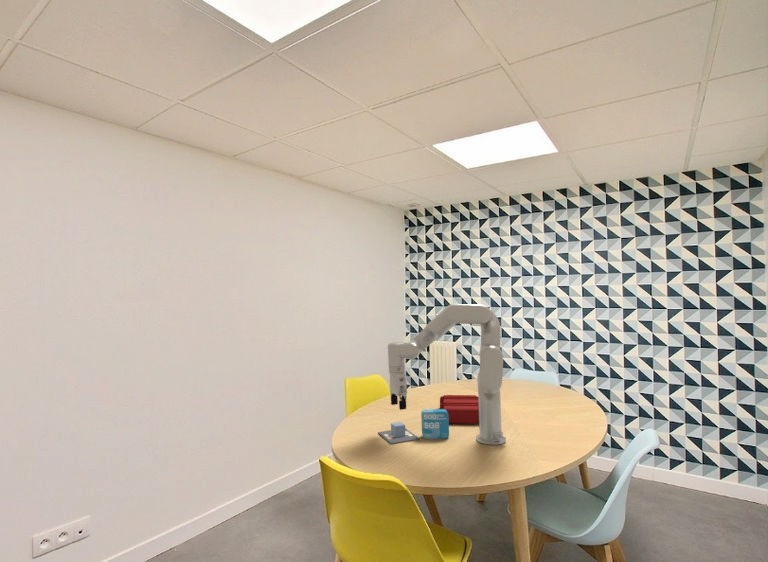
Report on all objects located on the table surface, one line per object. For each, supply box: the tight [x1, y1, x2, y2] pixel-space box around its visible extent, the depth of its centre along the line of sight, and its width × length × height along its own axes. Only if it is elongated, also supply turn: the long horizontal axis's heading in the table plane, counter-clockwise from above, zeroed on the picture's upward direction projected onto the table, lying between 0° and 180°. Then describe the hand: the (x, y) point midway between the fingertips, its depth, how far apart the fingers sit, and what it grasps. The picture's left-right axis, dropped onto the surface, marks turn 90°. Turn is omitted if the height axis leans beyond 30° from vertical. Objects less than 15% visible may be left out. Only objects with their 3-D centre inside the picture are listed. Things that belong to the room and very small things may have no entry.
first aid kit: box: [439, 394, 479, 425], centre depth 211 cm, size 32×23×9 cm
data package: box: [420, 408, 450, 440], centre depth 179 cm, size 12×4×12 cm, turn 89°
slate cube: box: [390, 421, 406, 438], centre depth 181 cm, size 5×5×5 cm
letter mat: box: [377, 427, 420, 445], centre depth 181 cm, size 16×14×1 cm
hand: (398, 406), depth 181 cm, fingers open, 9 cm apart
